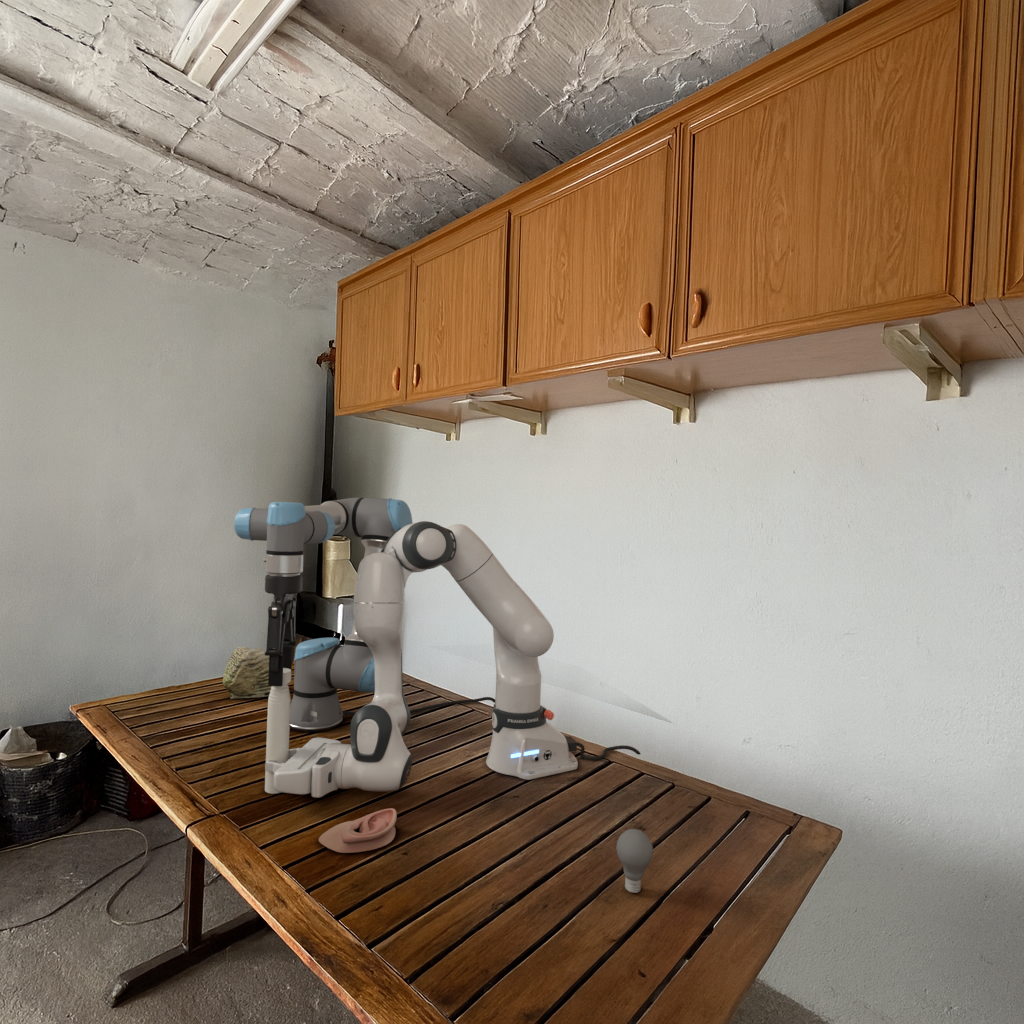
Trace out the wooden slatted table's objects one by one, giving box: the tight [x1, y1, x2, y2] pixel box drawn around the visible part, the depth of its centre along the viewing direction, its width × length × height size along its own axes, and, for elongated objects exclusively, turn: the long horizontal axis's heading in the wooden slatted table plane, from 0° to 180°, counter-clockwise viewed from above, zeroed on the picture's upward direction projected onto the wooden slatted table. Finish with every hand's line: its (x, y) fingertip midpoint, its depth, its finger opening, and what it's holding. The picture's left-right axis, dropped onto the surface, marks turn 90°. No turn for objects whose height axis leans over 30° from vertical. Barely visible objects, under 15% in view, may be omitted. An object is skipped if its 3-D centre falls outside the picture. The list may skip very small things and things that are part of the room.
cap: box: [283, 668, 292, 684], centre depth 136 cm, size 4×4×2 cm
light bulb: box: [615, 828, 654, 894], centre depth 106 cm, size 6×6×10 cm
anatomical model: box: [318, 807, 398, 854], centre depth 118 cm, size 13×4×12 cm
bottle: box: [264, 683, 292, 795], centre depth 136 cm, size 5×5×25 cm
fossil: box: [222, 646, 272, 699], centre depth 198 cm, size 9×18×15 cm, turn 132°
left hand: (280, 680), depth 136 cm, fingers open, 7 cm apart
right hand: (273, 759), depth 136 cm, fingers closed on bottle, 4 cm apart
